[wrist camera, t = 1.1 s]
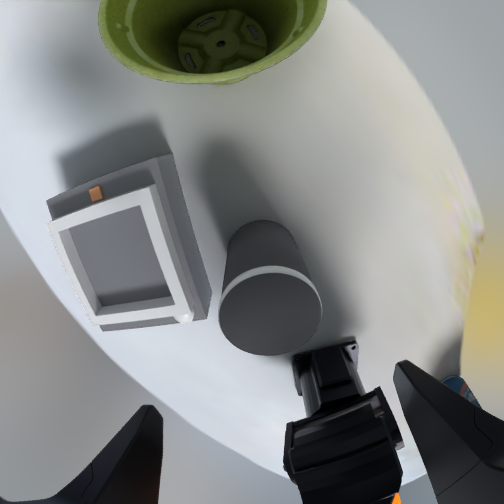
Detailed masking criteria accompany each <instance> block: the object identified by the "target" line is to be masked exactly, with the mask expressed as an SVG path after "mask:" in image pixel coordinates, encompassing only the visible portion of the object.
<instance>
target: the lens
mask: <svg viewBox="0 0 504 504" xmlns="http://www.w3.org/2000/svg"><path fill="white" fill-rule="evenodd" d="M321 317H322V304H321V300H320V297H319V295H318V292H317V290H316V288H315V286H314V285H313V283H312V281H311V278H310V276H309V274H308V271H307V269H306V267H305V264H304V262H303V260H302V257H301V255H300V253H299V251H298V248H297V246H296V244H295V242H294V239H293V237H292V236H291V234H290V233H289V231H288V230H287V229H286V228H284V227H283V226H282V225H280V224H278V223H275V222H272V221H267V220H258V221H253V222H250V223H247V224H245V225H244V226H242V227H241V228H239V229H238V230H237V231H236V232H235V234H234V235H233V237H232V238H231V241H230V243H229V247H228V254H227V261H226V268H225V275H224V282H223V289H222V296H221V299H220V303H219V310H218V321H219V325H220V328H221V330H222V332H223V334H224V335H225V337H226V338H227V339H228V340H229V341H230V342H231V343H232V344H233V345H234V346H236V347H237V348H239V349H241V350H243V351H245V352H248V353H251V354H255V355H264V356H270V355H279V354H283V353H287V352H290V351H292V350H294V349H296V348H298V347H300V346H301V345H303V344H304V343H306V342H307V341H308V340H309V339H310V338H311V337H312V336H313V334H314V333H315V332H316V330H317V328H318V326H319V324H320V321H321Z"/></svg>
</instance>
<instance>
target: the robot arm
mask: <svg viewBox="0 0 504 504" xmlns="http://www.w3.org/2000/svg"><path fill="white" fill-rule="evenodd" d="M358 348H359V346H358V344H357V342H356V341H352V342H349V343H345V344H341V345H337V346H333V347H328V348H324V349H320V350H315V351H311V352H306V353H301V354H296V355H294V356H293V357H292V362H293V368H294V374H295V380H296V386H297V392H298V395H299V396H303V400H304V405H305V411H306V416H307V418H304V419H301V420H298V421H295V422H293V421H292V422H289V423H287V426H286V432H285V445H284V456H283V463H284V465H283V468H284V470H285V471H286V472H287V473H288V475H289V477H290V479H291V481H292V482H293V483H295V484H296V485H297V486H298V489H299V491H300V494H301V498H302V502H303V504H392V503H393V500H394V498H395V495H396V494H397V493H398V492H399V489H400V486H401V482H402V479H401V478H402V475H403V471H402V467H401V464H400V461H399V458H398V455H397V453H396V450H399V449H401V448H403V447H404V442H403V439H402V436H401V433H400V430H399V428H398V425H397V422H396V420H395V418H394V415H393V413H392V411H391V409H390V407H389V404H388V402H387V400H386V398H385V396H384V394H383V392H382V390H381V388H380V386H379V387H377V388H375V389H374V390H373V391H371V392H369V393H365V390H364V388H363V385H362V382H361V380H360V377H359V375H358V372H357V363H358ZM296 359H298V360H296ZM393 381H394V384H395V387H396V391H397V394H398V397H399V400H400V404H401V407H402V410H403V413H404V416H405V419H406V421H407V424H408V426H409V428H410V431H411V433H412V435H413V438H414V440H415V443H416V445H417V447H418V450H419V452H420V455H421V457H422V460H423V463H424V465H425V468H426V470H427V473H428V476H429V479H430V481H431V484H432V487H433V489H434V493H435V495H436V499H437V502H438V504H504V421H503V420H501V419H499V418H497V417H495V416H493V415H491V414H490V413H488V412H486V411H485V410H483V409H481V408H480V407H478V406H477V405H474V403H472V402H471V401H469V400H467V399H466V398H464V397H463V396H461V395H460V394H458V393H457V392H455V391H454V390H452V389H451V388H449V387H448V386H446V385H445V384H443V383H442V382H440V381H439V380H437V379H436V378H434V377H433V376H431V375H430V374H428V373H426V372H425V371H423V370H422V369H420V368H419V367H417V366H416V365H414V364H413V363H411V362H410V361H408V360H403V361H400V362H398V363H397V364H396V366H395V371H394V376H393ZM162 458H163V417H162V415H161V414H160V413H159V412H158V410H157V409H156V408H155V407H154V406H153V405H142V406H141V407H140V409H138V411H137V412H136V413H135V414H134V415H133V416H132V417H131V418H130V420H129V421H128V422H127V423H126V424H125V425H124V426H123V427H122V429H121V430H120V431H119V432H118V433H117V434H116V435H115V436H114V437H113V438H112V440H111V441H110V442H109V443H108V444H107V445H106V446H105V447H104V448H103V449H102V451H101V452H100V453H99V454H98V455H97V456H96V457H95V458H94V460H92V463H90V464H89V465H88V466H87V467H86V468H85V469H84V470H83V471H82V472H81V473H80V474H79V475H78V476H77V477H76V478H75V479H73V480H72V481H71V482H70V483H69V484H68V485H67V486H65V487H64V488H63V489H62V490H60V491H59V492H58V493H57V494H56V495H54V496H52V497H50V498H47V499H41V500H32V501H19V502H9V501H7V500H5V499H4V498H2V497H1V496H0V504H158V497H159V486H160V476H161V467H162Z"/></svg>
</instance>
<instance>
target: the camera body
mask: <svg viewBox="0 0 504 504" xmlns="http://www.w3.org/2000/svg"><path fill="white" fill-rule="evenodd" d="M46 201H47V205H48V208H49V211H50V214H51V217H52V221H50V222H49V223H47V226H48V229H49V232H50V235H51V237H52V240H53V243H54V245H55V248H56V250H57V253H58V255H59V258H60V260H61V262H62V265H63V267H64V269H65V272H66V274H67V276H68V278H69V280H70V283H71V285H72V287H73V289H74V291H75V293H76V295H77V297H78V299H79V301H80V303H81V305H82V307H83V309H84V311H85V313H86V314H87V316H88V318H89V320H90V322H91V323H92V325H93V326H95V325H99V326H100V327H101V329H102V331H114V330H124V329H134V328H143V327H151V326H160V325H168V324H175V323H183V324H187V323H190V322H191V321H197V320H204V319H207V316H208V311H209V306H210V301H211V295H212V291H211V287H210V284H209V281H208V278H207V275H206V272H205V269H204V265H203V262H202V259H201V256H200V252H199V249H198V246H197V242H196V239H195V235H194V232H193V229H192V225H191V222H190V218H189V215H188V211H187V207H186V204H185V200H184V196H183V193H182V189H181V185H180V181H179V178H178V174H177V170H176V166H175V162H174V158H173V154H172V153H171V154H167V155H163V156H159V157H155V158H152V159H149V160H146V161H143V162H140V163H137V164H134V165H131V166H128V167H125V168H123V169H120V170H117V171H114V172H112V173H109V174H107V175H104V176H101V177H99V178H96V179H94V180H91V181H89V182H86V183H84V184H82V185H79V186H77V187H75V188H72V189H70V190H68V191H66V192H63V193H61V194H59V195H57V196H55V197H53V198H50V199H48V200H46Z"/></svg>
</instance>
